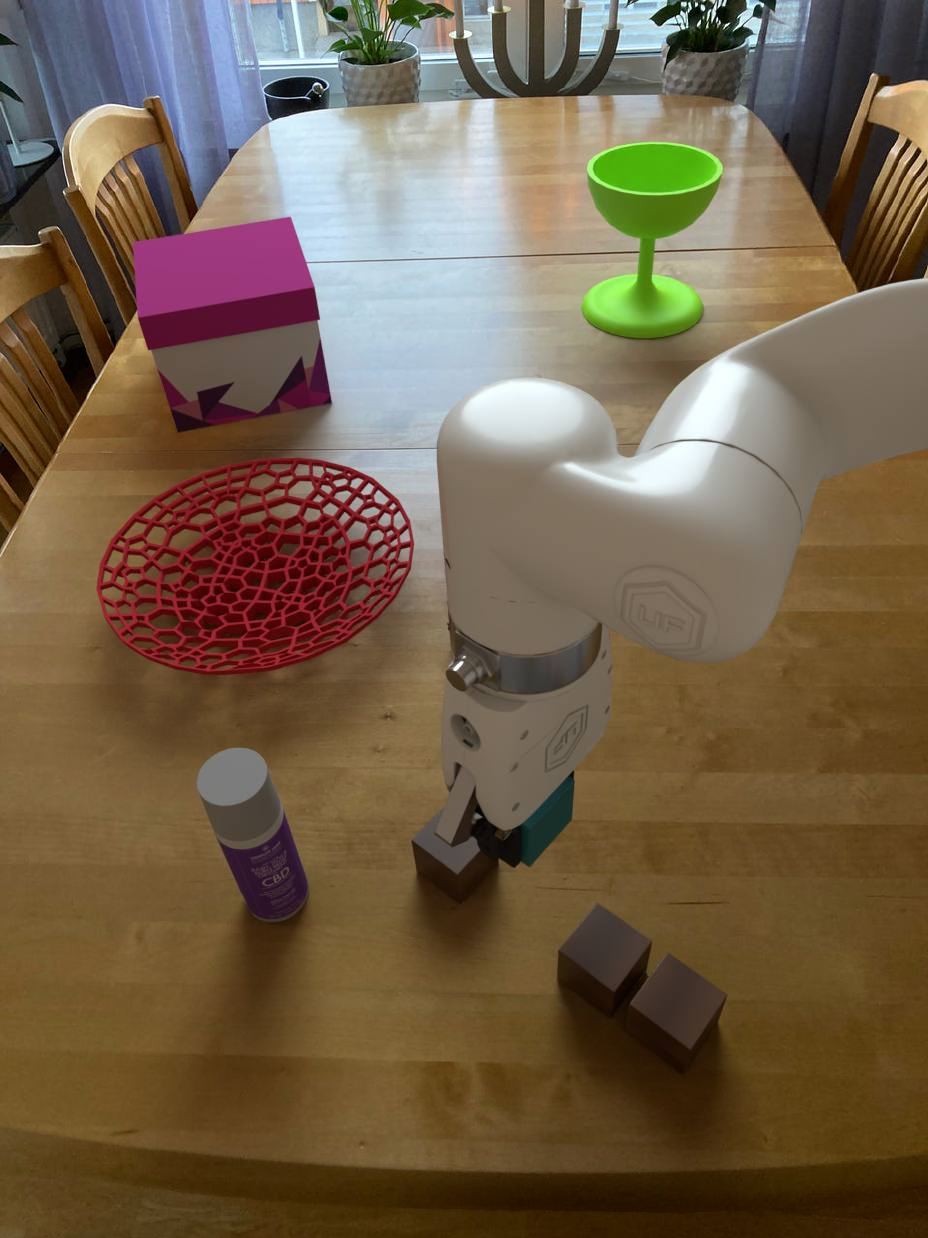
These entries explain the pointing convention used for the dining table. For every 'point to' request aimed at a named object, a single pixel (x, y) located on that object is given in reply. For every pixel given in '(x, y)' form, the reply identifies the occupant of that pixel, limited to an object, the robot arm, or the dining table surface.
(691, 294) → the wineglass
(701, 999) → the walnut block
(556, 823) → the teal block
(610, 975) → the walnut block
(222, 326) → the decorative box
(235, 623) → the bowl
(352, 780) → the dining table surface
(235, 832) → the container
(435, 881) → the walnut block
